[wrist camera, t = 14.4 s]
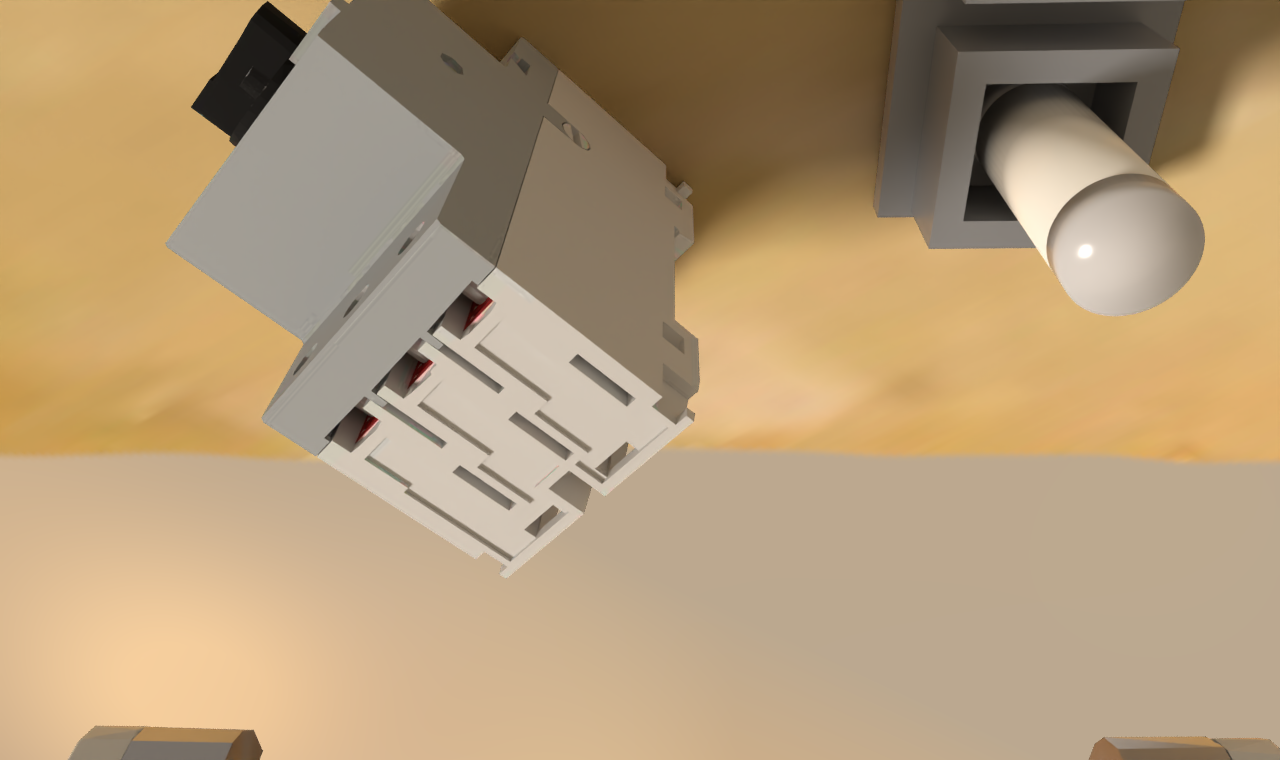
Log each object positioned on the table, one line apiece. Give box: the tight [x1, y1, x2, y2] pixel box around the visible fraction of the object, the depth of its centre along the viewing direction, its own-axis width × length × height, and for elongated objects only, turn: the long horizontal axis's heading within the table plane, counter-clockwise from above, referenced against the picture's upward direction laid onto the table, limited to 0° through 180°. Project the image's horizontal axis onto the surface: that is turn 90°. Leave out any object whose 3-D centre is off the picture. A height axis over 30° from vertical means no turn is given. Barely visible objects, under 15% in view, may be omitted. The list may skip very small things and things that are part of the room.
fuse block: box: [873, 0, 1185, 249], centre depth 32 cm, size 9×15×4 cm, turn 1°
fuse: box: [974, 83, 1205, 316], centre depth 31 cm, size 4×4×10 cm
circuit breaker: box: [165, 0, 700, 578], centre depth 30 cm, size 8×14×15 cm, turn 48°
